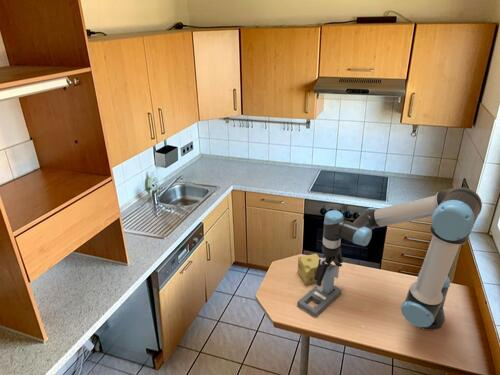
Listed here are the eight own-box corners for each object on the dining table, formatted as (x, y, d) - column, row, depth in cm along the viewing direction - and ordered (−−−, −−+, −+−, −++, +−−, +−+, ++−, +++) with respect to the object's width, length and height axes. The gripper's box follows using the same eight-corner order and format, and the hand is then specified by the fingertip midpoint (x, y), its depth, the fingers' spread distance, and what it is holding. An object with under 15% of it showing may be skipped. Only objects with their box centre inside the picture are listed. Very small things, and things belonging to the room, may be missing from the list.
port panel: (341, 293, 175) (341, 289, 174) (315, 317, 162) (315, 313, 161) (323, 283, 181) (323, 279, 180) (297, 305, 169) (297, 301, 168)
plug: (333, 293, 175) (335, 266, 168) (327, 298, 173) (330, 270, 165) (325, 289, 178) (327, 262, 170) (320, 293, 175) (322, 266, 168)
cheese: (304, 286, 180) (305, 269, 176) (296, 271, 189) (297, 255, 185) (324, 281, 183) (326, 265, 178) (315, 267, 192) (316, 252, 187)
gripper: (339, 229, 172) (335, 267, 182) (307, 252, 157) (304, 292, 167) (353, 236, 167) (349, 274, 177) (322, 260, 153) (318, 300, 163)
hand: (327, 283), depth 172 cm, fingers open, 11 cm apart
